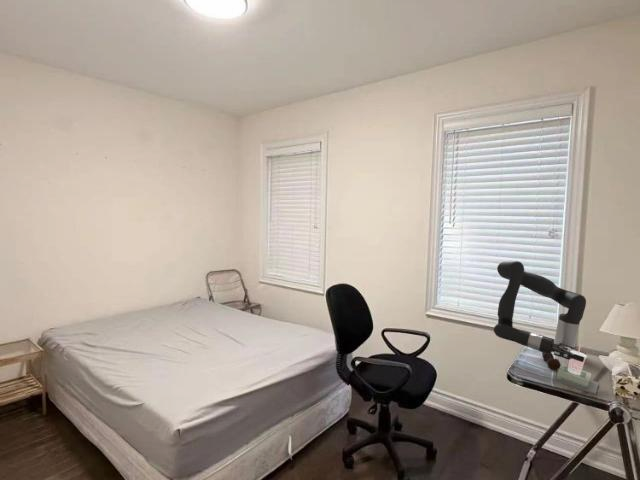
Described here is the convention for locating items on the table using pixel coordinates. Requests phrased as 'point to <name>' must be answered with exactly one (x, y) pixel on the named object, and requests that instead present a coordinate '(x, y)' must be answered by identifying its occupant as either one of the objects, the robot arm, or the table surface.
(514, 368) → the table surface
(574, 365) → the beverage cup
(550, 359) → the bolt
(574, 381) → the pale green square tray
